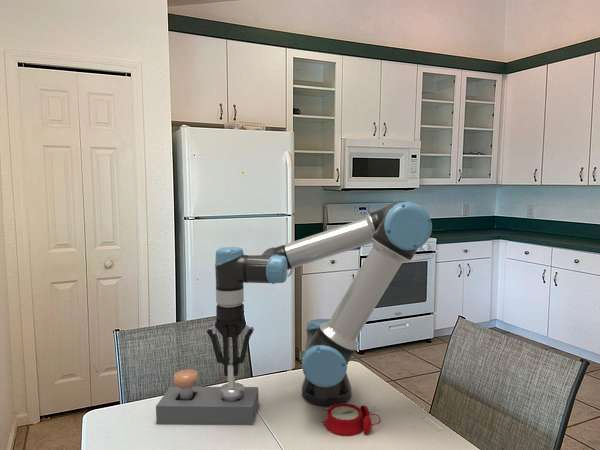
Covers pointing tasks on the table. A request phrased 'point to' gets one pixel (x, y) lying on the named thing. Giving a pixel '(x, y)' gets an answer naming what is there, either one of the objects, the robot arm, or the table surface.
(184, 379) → the terracotta plunger
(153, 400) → the table surface
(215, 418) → the panel
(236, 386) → the metal plunger
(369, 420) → the alarm clock
